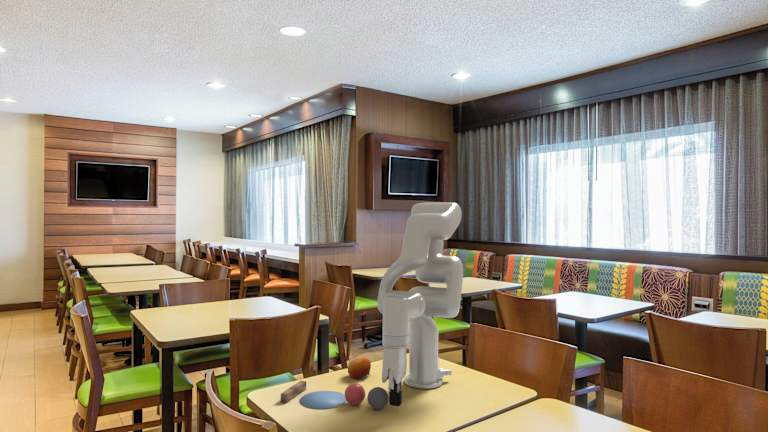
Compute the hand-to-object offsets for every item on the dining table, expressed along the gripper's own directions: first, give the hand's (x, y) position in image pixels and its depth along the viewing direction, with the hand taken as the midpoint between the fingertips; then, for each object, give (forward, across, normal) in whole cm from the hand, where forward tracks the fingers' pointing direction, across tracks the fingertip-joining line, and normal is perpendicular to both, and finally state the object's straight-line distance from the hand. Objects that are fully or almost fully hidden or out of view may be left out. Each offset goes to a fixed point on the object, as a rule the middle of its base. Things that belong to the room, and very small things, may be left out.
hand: (395, 404), depth 138 cm
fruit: (+2, -24, -19) cm, 31 cm away
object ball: (-2, -1, -12) cm, 13 cm away
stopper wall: (+2, -1, -32) cm, 32 cm away
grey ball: (-2, 0, -5) cm, 5 cm away
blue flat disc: (+2, -1, -22) cm, 22 cm away
